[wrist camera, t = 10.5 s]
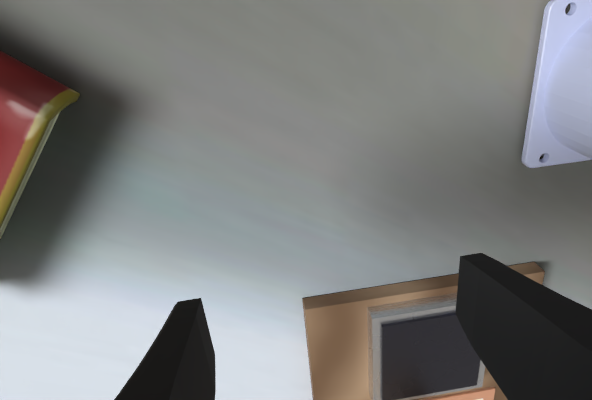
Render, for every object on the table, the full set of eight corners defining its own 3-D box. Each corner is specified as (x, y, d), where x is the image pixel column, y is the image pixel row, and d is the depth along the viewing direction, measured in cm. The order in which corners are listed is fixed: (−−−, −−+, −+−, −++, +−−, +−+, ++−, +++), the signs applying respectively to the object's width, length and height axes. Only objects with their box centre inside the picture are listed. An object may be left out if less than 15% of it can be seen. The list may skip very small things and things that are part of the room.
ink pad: (485, 287, 25) (497, 301, 24) (474, 374, 28) (483, 389, 27) (366, 306, 25) (373, 321, 24) (368, 392, 28) (374, 409, 27)
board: (534, 261, 26) (544, 271, 25) (498, 451, 34) (505, 464, 33) (302, 298, 25) (304, 309, 24) (322, 485, 33) (324, 499, 32)
